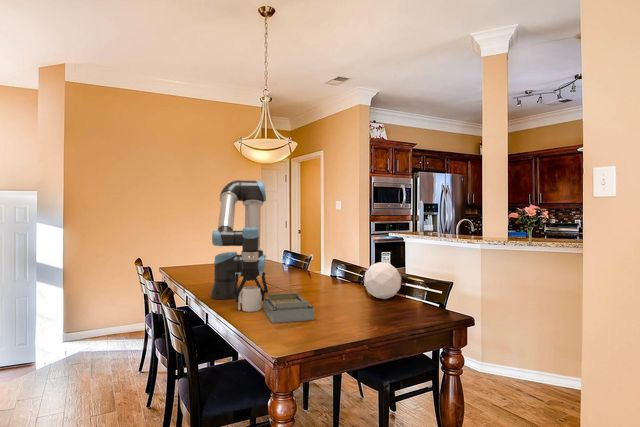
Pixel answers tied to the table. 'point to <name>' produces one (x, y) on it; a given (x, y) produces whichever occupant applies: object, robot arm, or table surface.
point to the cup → (250, 298)
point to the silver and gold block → (288, 308)
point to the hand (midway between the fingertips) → (249, 308)
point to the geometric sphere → (382, 280)
